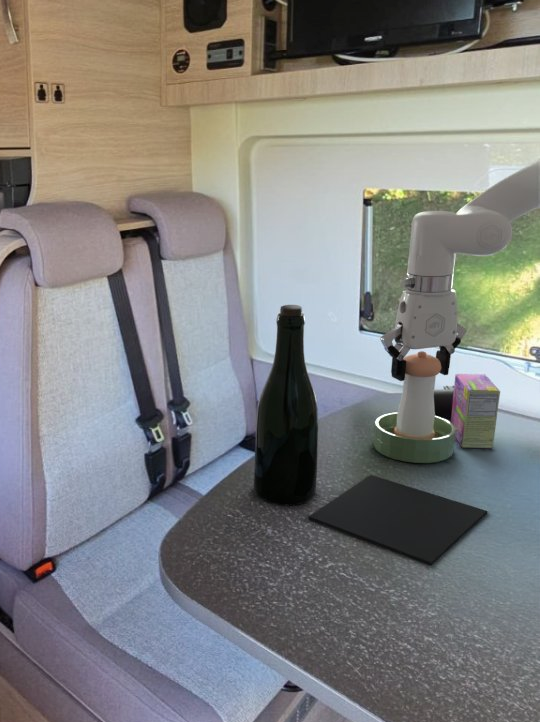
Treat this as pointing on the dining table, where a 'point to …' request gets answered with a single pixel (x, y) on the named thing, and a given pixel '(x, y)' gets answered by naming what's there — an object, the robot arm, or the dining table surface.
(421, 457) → the bowl
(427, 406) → the pepper shaker
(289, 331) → the dark green wine bottle
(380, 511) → the mat
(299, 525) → the dining table surface
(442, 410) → the end cap
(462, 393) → the box
